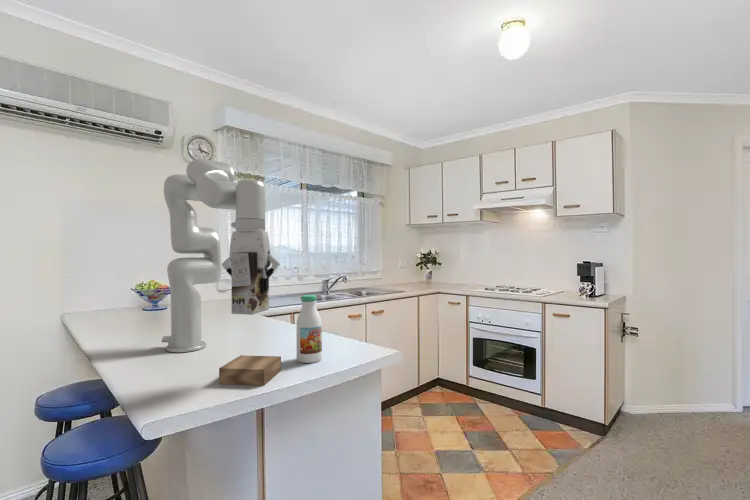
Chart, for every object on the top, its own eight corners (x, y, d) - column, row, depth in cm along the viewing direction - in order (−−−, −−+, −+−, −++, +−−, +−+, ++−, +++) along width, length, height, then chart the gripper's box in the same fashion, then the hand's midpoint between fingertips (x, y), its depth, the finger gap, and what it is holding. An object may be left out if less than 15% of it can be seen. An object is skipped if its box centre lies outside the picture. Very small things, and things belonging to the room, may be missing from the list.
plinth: (219, 383, 99) (219, 368, 99) (240, 369, 111) (240, 355, 111) (264, 385, 98) (264, 369, 98) (281, 370, 110) (281, 356, 110)
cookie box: (253, 315, 99) (253, 252, 99) (230, 314, 100) (230, 252, 100) (269, 309, 108) (269, 251, 108) (248, 308, 109) (248, 251, 109)
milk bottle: (291, 362, 118) (291, 296, 118) (304, 355, 125) (304, 293, 125) (314, 364, 115) (313, 297, 115) (326, 357, 122) (325, 294, 122)
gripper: (212, 226, 102) (213, 294, 102) (276, 225, 100) (276, 294, 100) (226, 227, 109) (227, 291, 109) (286, 227, 107) (286, 291, 107)
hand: (251, 292), depth 104 cm, fingers closed on cookie box, 6 cm apart
